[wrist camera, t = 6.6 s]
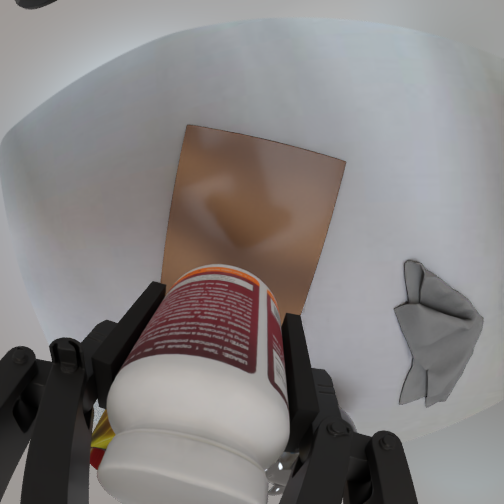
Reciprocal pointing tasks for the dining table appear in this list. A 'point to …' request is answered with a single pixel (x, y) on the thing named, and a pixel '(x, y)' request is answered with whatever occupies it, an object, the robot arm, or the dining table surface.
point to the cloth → (435, 335)
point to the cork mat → (251, 211)
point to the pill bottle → (201, 396)
